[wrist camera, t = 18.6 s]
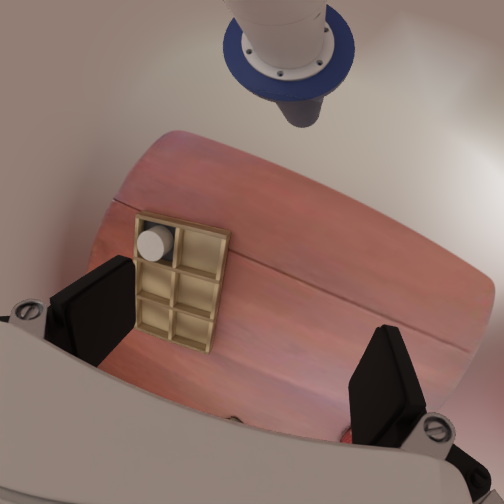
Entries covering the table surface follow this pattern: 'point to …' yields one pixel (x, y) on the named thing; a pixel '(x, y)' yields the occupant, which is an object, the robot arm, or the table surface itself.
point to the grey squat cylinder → (155, 243)
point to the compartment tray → (181, 282)
